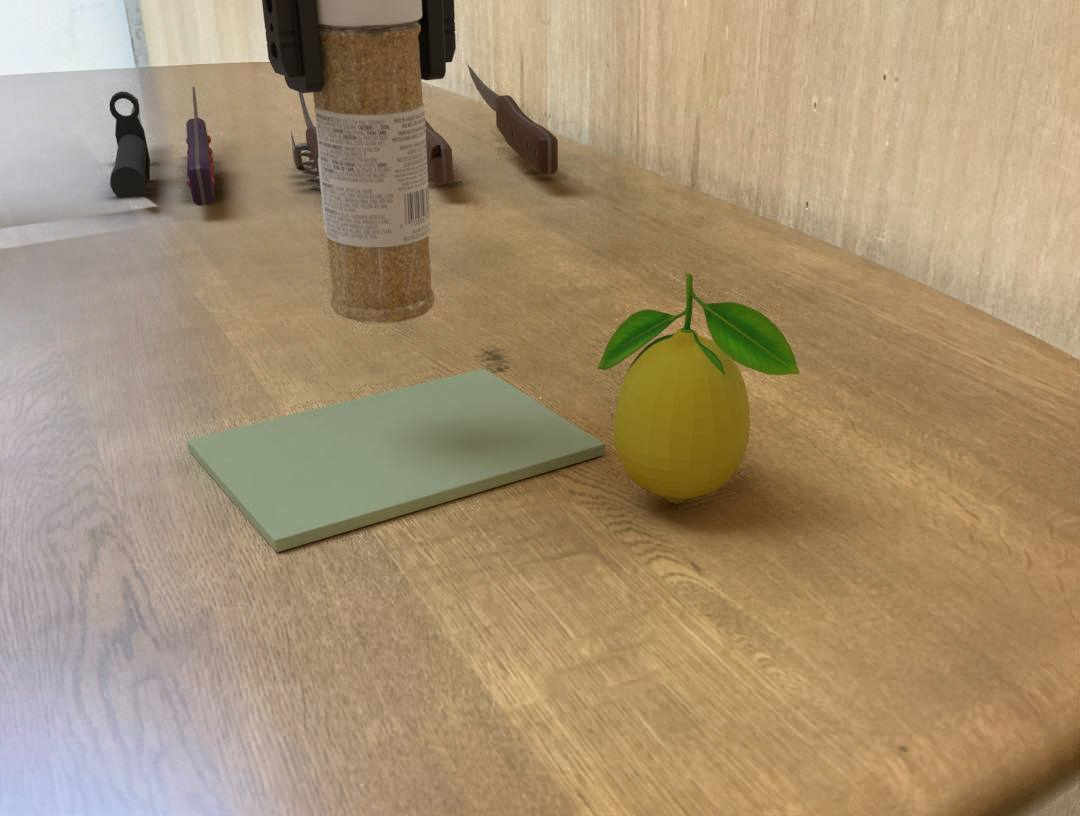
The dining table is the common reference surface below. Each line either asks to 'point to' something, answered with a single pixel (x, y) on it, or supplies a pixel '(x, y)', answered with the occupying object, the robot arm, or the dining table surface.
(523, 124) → the knife set
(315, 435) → the mat
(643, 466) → the lemon
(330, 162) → the sprinkles bottle
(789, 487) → the dining table surface
